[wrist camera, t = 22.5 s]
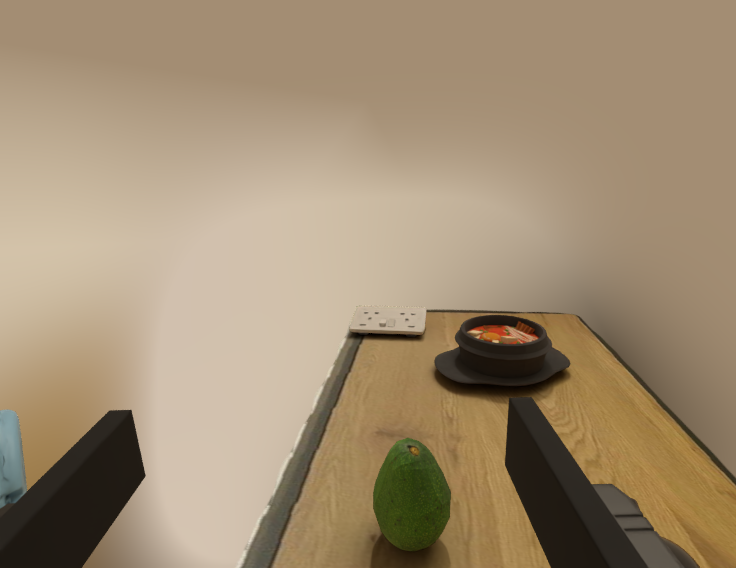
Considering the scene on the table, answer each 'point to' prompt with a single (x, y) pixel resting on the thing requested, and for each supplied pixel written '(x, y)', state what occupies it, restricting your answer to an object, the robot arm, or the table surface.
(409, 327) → the wall socket
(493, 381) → the casserole
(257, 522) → the table surface
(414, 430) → the table surface
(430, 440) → the table surface
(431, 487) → the avocado
